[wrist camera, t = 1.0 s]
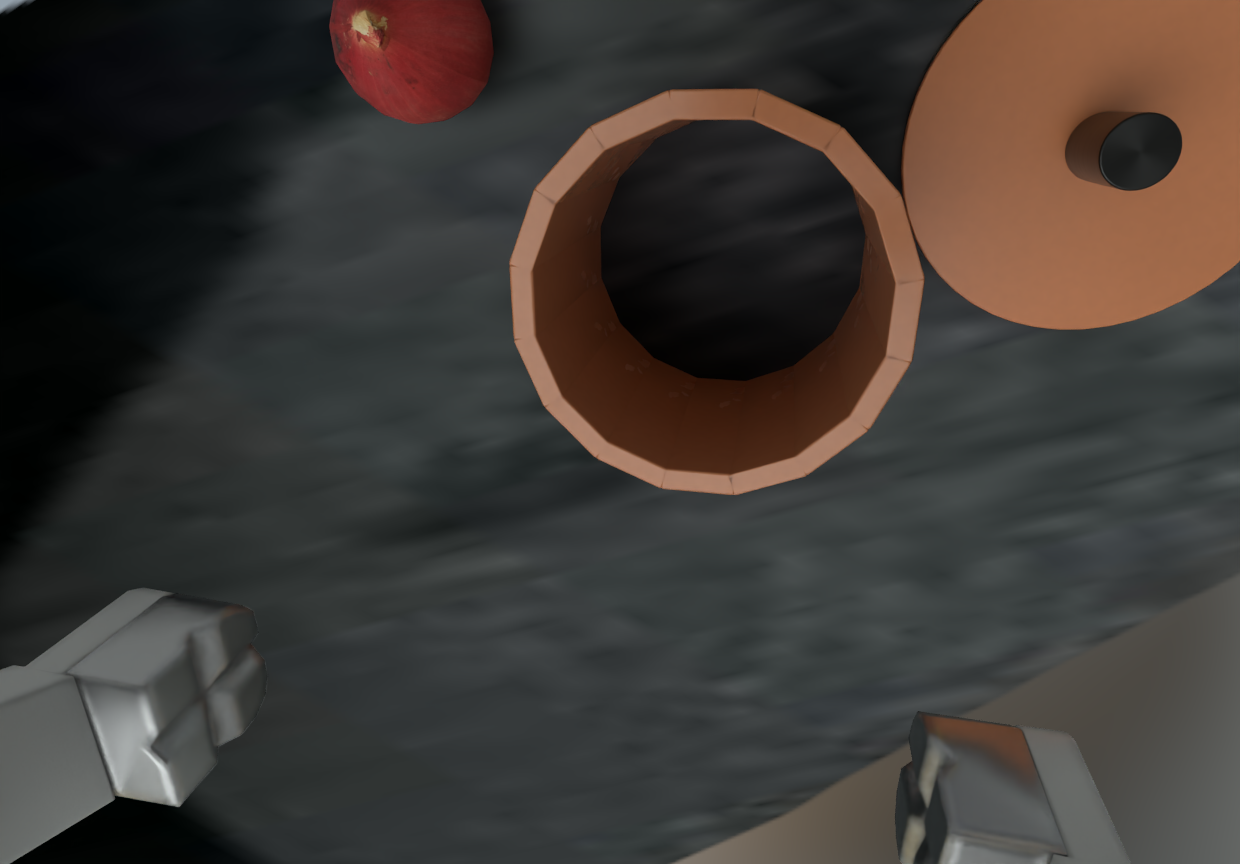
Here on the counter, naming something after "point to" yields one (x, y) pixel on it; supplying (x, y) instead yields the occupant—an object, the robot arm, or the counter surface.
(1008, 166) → the lid
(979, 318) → the counter surface
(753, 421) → the pot
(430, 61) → the onion
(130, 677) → the robot arm
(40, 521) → the counter surface
